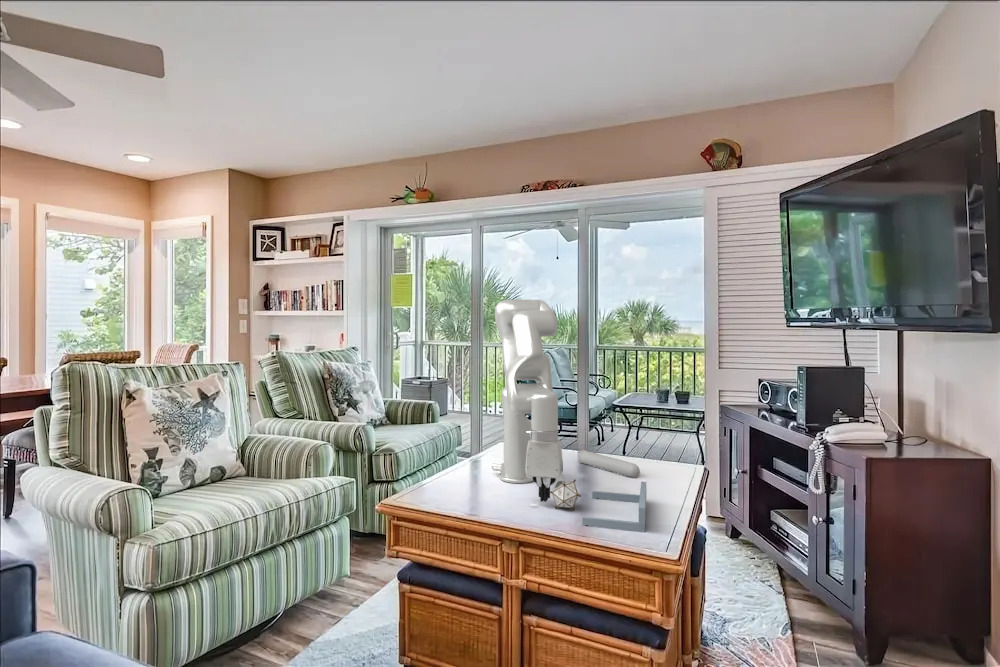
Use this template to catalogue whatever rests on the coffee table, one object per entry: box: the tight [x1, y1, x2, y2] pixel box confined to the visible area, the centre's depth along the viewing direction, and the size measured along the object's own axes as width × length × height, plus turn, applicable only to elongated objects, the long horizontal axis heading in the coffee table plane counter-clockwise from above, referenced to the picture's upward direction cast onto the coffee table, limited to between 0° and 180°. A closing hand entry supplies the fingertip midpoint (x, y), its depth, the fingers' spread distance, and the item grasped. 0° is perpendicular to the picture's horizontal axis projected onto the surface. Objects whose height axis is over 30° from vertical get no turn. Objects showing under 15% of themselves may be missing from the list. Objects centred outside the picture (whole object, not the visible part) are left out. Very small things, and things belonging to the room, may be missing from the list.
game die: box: [549, 479, 582, 511], centre depth 149 cm, size 9×8×10 cm
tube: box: [577, 449, 641, 479], centre depth 188 cm, size 5×5×25 cm
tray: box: [581, 480, 647, 533], centre depth 145 cm, size 16×23×6 cm
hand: (544, 499), depth 151 cm, fingers closed
